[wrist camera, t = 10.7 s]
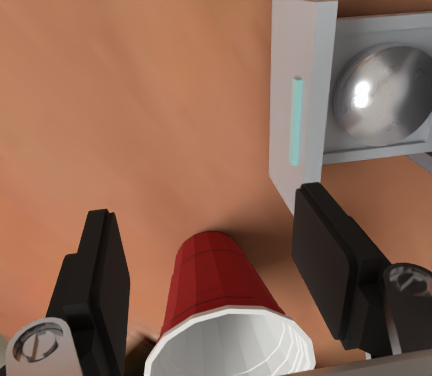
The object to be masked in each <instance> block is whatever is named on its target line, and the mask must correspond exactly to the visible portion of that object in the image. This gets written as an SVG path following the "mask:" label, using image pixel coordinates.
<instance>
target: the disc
mask: <svg viewBox="0 0 432 376" xmlns="http://www.w3.org/2000/svg"><path fill="white" fill-rule="evenodd" d="M331 105H332V111H333V115H334V117H335V120H336V121H337V123H338V124H339V126H340V127H341V128H342V129H344V130H345V131H346V132H347V133H348V134H350V135H351V136H352V137H353V138H354V139H356V140H357V141H359V142H361V143H363V144H365V145H369V146H386V145H391V144H394V143H397V142H399V141H401V140H403V139H405V138H406V137H408V136H409V135H411V134H412V133H413V132H415V131H416V130H417V129H418V128H419V127H420V126H421V125H422V124H423V123H424V122H425V120H426V119H427V118H428V116H429V115H430V113H431V112H432V58H431V57H430V56H429V55H428V54H427V53H425V52H424V51H422V50H419V49H417V48H413V47H409V46H406V45H402V44H398V43H393V42H384V43H379V44H375V45H372V46H370V47H368V48H365V49H364V50H362V51H360V52H359V53H358V54H356V55H355V56H354V57H353V58H352V59H351V60H350V61H349V62H348V63H347V64H346V65H345V66H344V68H343V69H342V71H341V72H340V74H339V76H338V77H337V79H336V82H335V85H334V87H333V92H332V99H331Z"/></svg>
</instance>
